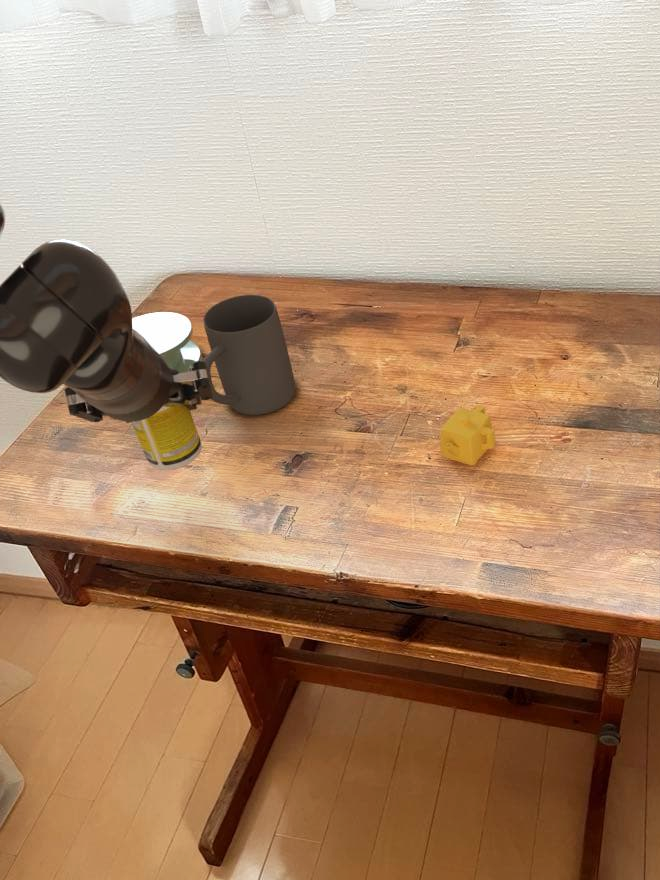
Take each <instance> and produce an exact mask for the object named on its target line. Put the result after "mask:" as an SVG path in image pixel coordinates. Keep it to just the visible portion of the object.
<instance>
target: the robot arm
mask: <svg viewBox="0 0 660 880" xmlns="http://www.w3.org/2000/svg"><path fill="white" fill-rule="evenodd" d="M5 225H6V213H5V209H4V207H3V206H2V204H1V203H0V237H1V236H2V234H3V231H4V229H5ZM132 319H133V312H132V306H131V302H130V298H129V296H128V294H127V292H126V290H125V287H124V285H123V283H122V282H121V280H120V278H119V276H118V274H116V272H115V270H114V269H113V268H112V267H111V266H110V264H109V263H108V262H107V261H106V260H105V259H104V258H103V257H102V256H100V254H99V253H97V252H96V251H95V250H93V249H92V248H90V247H88V246H86V245H84V244H83V243H80V242H78V241H74V240H69V239H53V240H50V241H45V242H44V243H42V244H40V245H39V246H37V247H36V248H35V249H34V250H32V252H31V253H30V254H29V255H28V256H26V258H25V259H24V260H23V261H22V262H21V264H19V265H18V266H17V267H16V268H15V269H14V270H13V271H12V272H11V273H10V274H9V275H8V276H7V277H6V278H5V280H3V281H2V283H0V378H1V379H2V380H3V381H5V383H7V384H9V385H11V386H13V387H15V388H17V389H20V390H21V391H24V392H29V393H33V394H47V393H52V392H54V391H56V390H58V389H59V388H60V387H61V386H63V385H64V386H65V388H64V389H63V391H64V394H65V401H66V404H67V408H68V413H69V415H71V416H72V417H73V416H74V417H77V418H79V419H82V420H86V421H88V422H91V423H100V422H101V421H103V420H104V417H108V416H109V419H110V420H113V421H121V422H125V423H127V424H132V422H134V421H140V420H144V419H146V418H149V417H151V416H152V415H154V414H155V413H156V412H158V411H159V410H160V409H161V408H162V406H165V407H177V406H180V405H183V404H184V405H185V406H186V407H187V408H188V409H189V410H190V411H194V410H198V407H197V406H199V405H201V404H202V401H209V400H211V398H212V392H211V388H210V383H209V378H208V374H207V369H206V364H205V362H201V361H197V362H196V363H193V367H189V371H190V372H184V373H179V371H178V370H176V369H174V368H169V367H168V365H167V364H166V362H165V360H164V359H163V358H162V357H161V355H160V354H159V353H158V352H157V351H156V350H155V349H154V348H153V347H152V346H151V344H150V343H149V342H148V341H147V340H146V339H145V338H144V337H143V336H142V335H141V334H140V333H139V332H137V331H136V330H135V329H133V321H132Z"/></svg>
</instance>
